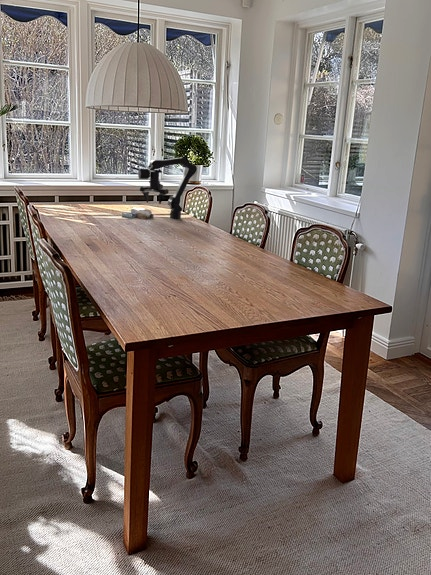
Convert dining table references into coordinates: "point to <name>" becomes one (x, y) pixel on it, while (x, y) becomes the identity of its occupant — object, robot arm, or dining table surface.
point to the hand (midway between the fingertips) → (153, 203)
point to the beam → (143, 216)
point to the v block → (129, 215)
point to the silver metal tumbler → (141, 211)
